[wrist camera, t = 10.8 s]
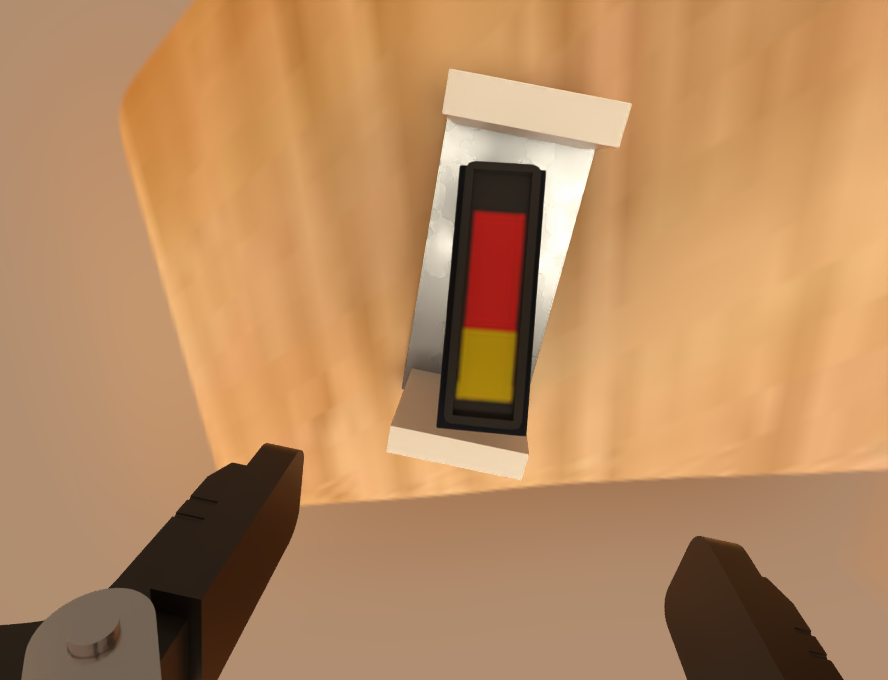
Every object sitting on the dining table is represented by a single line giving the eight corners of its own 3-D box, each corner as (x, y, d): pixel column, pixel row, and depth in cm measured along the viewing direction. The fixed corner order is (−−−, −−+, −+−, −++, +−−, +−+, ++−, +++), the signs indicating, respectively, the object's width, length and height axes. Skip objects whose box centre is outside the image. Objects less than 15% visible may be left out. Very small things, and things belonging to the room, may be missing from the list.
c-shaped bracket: (460, 90, 28) (449, 68, 21) (595, 116, 28) (631, 103, 21) (408, 390, 36) (386, 451, 28) (515, 412, 36) (521, 480, 28)
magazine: (451, 408, 34) (433, 430, 19) (467, 225, 35) (462, 110, 20) (504, 413, 34) (529, 440, 19) (519, 228, 35) (554, 115, 20)
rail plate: (453, 91, 29) (452, 89, 29) (600, 119, 29) (603, 118, 28) (404, 382, 37) (401, 388, 36) (521, 407, 37) (522, 413, 36)
